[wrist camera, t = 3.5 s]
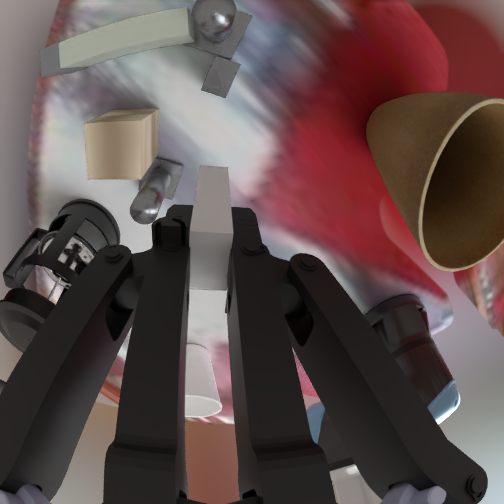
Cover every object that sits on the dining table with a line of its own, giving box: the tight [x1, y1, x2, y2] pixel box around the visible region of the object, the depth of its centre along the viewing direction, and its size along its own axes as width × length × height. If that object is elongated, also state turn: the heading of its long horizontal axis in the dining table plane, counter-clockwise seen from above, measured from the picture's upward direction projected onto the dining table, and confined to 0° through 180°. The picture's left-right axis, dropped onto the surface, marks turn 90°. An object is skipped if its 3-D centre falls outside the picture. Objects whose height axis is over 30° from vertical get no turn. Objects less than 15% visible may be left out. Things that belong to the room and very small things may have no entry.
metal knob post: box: [183, 0, 252, 98], centre depth 17 cm, size 8×6×9 cm
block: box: [85, 109, 160, 180], centre depth 22 cm, size 5×5×7 cm
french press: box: [0, 199, 120, 393], centre depth 22 cm, size 12×9×23 cm
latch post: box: [130, 157, 183, 224], centre depth 25 cm, size 4×4×8 cm
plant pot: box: [366, 92, 504, 271], centre depth 21 cm, size 15×15×16 cm
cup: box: [185, 344, 223, 417], centre depth 43 cm, size 10×10×11 cm
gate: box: [40, 7, 195, 78], centre depth 17 cm, size 13×3×6 cm, turn 92°
